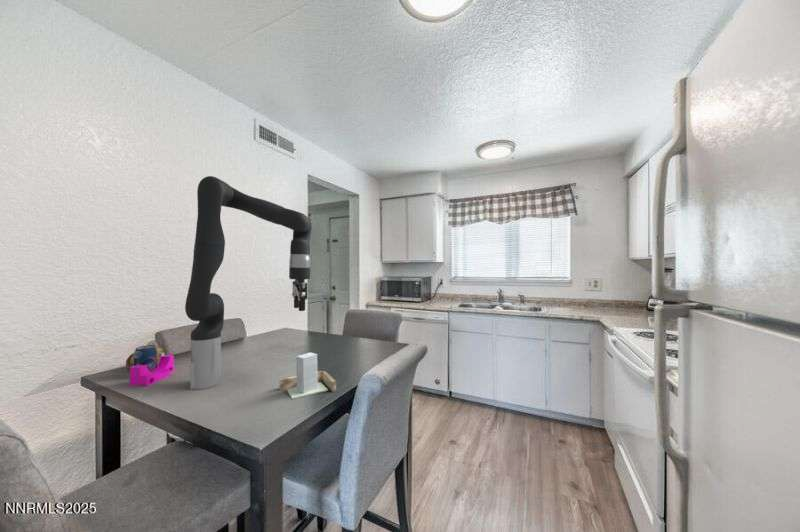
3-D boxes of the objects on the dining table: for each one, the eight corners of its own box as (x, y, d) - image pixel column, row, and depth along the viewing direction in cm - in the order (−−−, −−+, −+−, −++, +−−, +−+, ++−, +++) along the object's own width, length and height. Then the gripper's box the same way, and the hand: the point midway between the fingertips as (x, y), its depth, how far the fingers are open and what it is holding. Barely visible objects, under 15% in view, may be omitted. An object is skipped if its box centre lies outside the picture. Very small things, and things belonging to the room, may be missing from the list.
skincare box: (310, 384, 106) (310, 351, 106) (318, 387, 103) (317, 354, 103) (295, 390, 101) (295, 356, 101) (303, 393, 98) (303, 358, 98)
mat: (292, 399, 95) (292, 398, 95) (287, 390, 102) (287, 389, 102) (327, 390, 101) (327, 389, 101) (320, 382, 108) (320, 381, 108)
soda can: (137, 382, 110) (137, 350, 110) (130, 378, 113) (130, 347, 113) (160, 376, 116) (159, 346, 116) (152, 373, 119) (152, 343, 119)
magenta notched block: (146, 388, 104) (146, 368, 104) (129, 388, 105) (129, 367, 105) (179, 373, 119) (179, 355, 119) (164, 373, 120) (164, 355, 120)
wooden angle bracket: (286, 403, 92) (286, 392, 92) (279, 389, 103) (279, 379, 103) (336, 391, 101) (336, 381, 101) (324, 379, 112) (324, 370, 112)
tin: (130, 375, 117) (130, 354, 117) (124, 375, 117) (124, 354, 117) (166, 363, 132) (166, 344, 132) (161, 362, 132) (161, 344, 132)
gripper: (314, 266, 106) (314, 311, 106) (305, 266, 118) (304, 306, 118) (293, 266, 102) (292, 312, 102) (286, 266, 114) (285, 307, 114)
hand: (299, 309), depth 110 cm, fingers open, 8 cm apart
